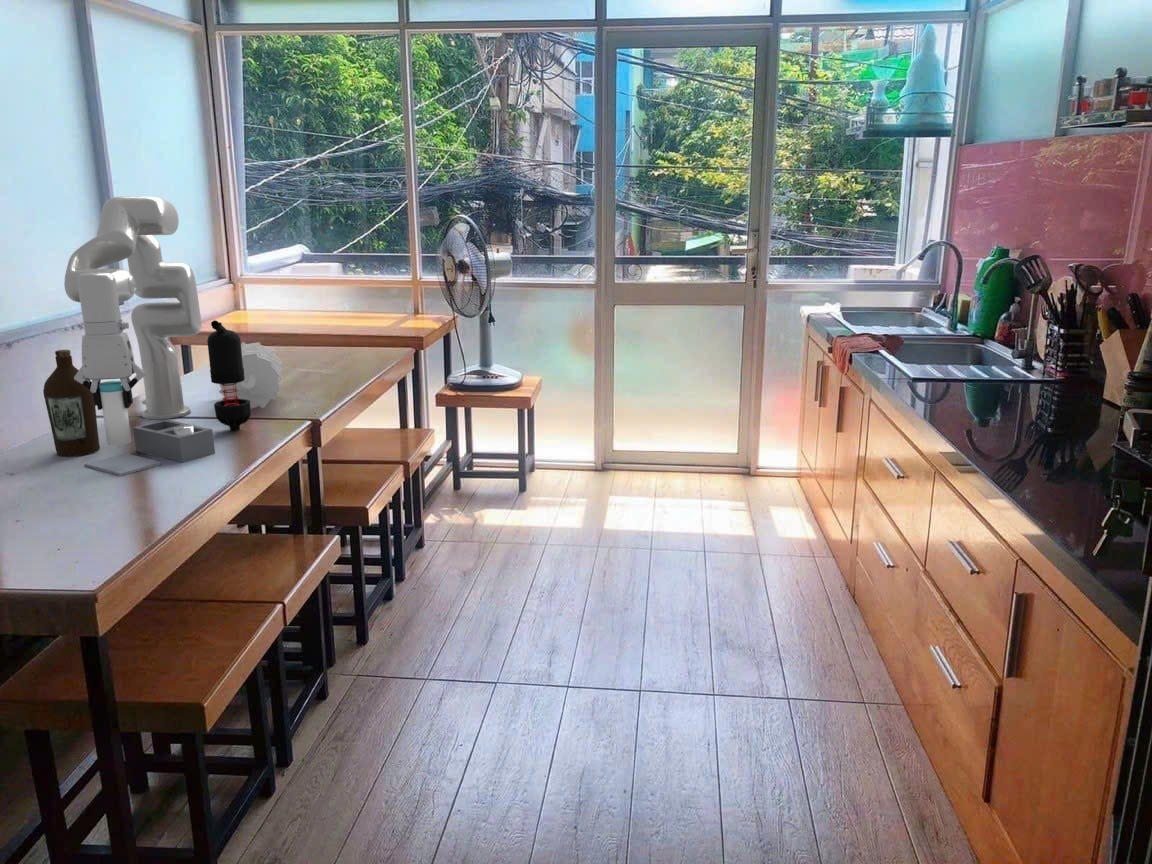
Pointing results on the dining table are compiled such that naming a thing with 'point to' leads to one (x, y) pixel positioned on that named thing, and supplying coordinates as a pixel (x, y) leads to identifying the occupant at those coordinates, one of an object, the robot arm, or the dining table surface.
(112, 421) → the cylinder
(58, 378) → the olive oil
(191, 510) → the dining table surface
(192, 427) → the silver metallic cylinder
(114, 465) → the mat
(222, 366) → the filter
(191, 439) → the housing
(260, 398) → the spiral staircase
